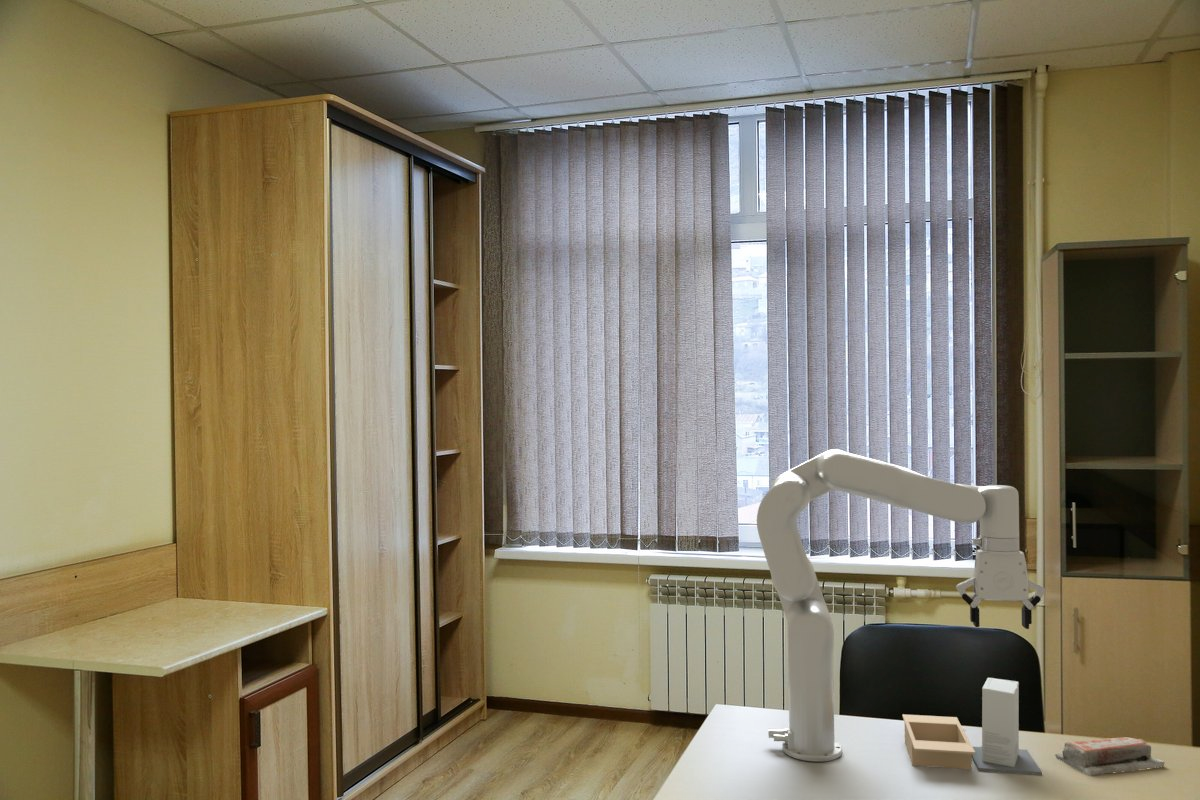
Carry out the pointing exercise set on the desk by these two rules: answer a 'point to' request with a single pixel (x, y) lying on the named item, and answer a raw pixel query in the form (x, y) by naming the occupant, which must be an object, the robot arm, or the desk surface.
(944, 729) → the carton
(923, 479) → the robot arm
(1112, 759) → the packaged product
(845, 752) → the desk surface
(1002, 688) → the skincare box
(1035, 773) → the mat
